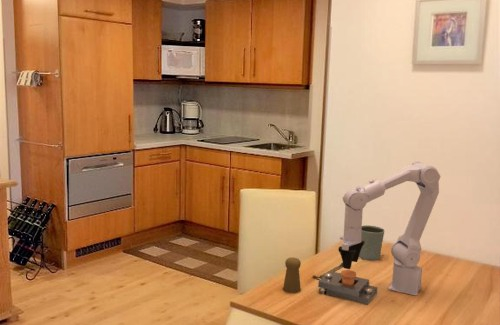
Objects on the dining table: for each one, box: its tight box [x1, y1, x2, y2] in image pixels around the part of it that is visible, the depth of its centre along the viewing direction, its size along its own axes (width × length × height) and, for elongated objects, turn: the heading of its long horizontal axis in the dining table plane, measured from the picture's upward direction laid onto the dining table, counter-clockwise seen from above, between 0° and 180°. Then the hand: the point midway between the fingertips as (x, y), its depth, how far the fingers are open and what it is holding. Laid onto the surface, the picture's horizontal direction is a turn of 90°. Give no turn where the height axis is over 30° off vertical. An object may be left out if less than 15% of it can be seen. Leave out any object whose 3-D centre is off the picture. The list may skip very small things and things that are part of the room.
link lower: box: [325, 284, 378, 305], centre depth 169 cm, size 14×11×3 cm
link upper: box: [317, 270, 370, 297], centre depth 171 cm, size 14×11×5 cm
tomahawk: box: [312, 262, 344, 282], centre depth 188 cm, size 21×7×1 cm, turn 138°
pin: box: [340, 269, 357, 286], centre depth 170 cm, size 5×5×7 cm
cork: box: [282, 257, 302, 294], centre depth 171 cm, size 6×6×11 cm
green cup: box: [358, 225, 385, 262], centre depth 205 cm, size 10×10×12 cm
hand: (350, 264), depth 170 cm, fingers open, 7 cm apart
